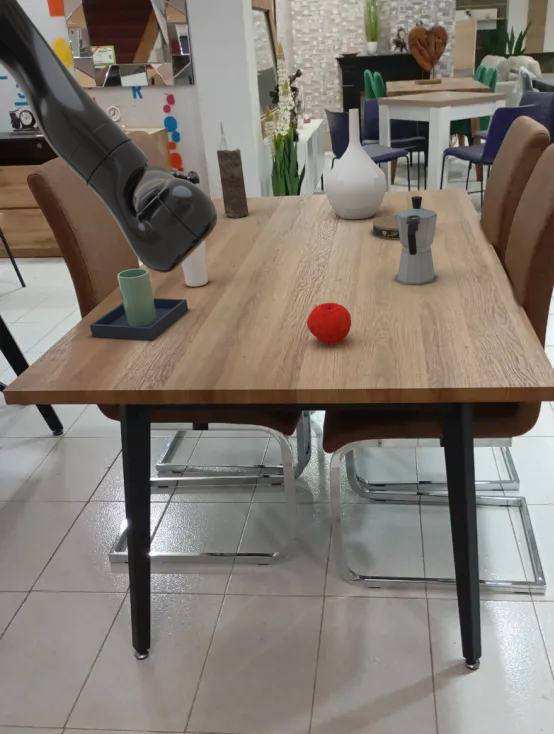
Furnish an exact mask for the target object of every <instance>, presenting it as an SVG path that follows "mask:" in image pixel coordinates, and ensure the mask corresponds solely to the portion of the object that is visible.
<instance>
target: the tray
mask: <svg viewBox="0 0 554 734" xmlns="http://www.w3.org/2000/svg"><path fill="white" fill-rule="evenodd" d="M153 298H154V303H155V308H156V314H157V320H156V321H155V322H154V323H152V324H149V325H145V326H130V325H128V323H127V320H126V316H125V311H124V306H123V302H121V303H120V304H118V305H116V306H115V307H114V308H112V309H111V310H109V311H108V312H107V313H105V314H104V315H102V316H100V317H99V318H98V319H96V320H95V321H94V322H91V324H89V328H90V331H91V336H92V337H93V338H105V339H106V338H108V339H121V340H123V339H124V340H140V341H154V340H155V339H156V338H157V337H159V335H161V334H162V333H163V332H165V331H166V330H167V329H168V328H170V326H172V325H173V324H174V323H175V322H177V321H178V320H179V319H180V318H181V317H182V316H184V315H185V314H186V313H187V312H189V306H188V300H187V299H186V298H184V299H182V298H165V297H164V298H163V297H161V298H160V297H153Z"/></svg>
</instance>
